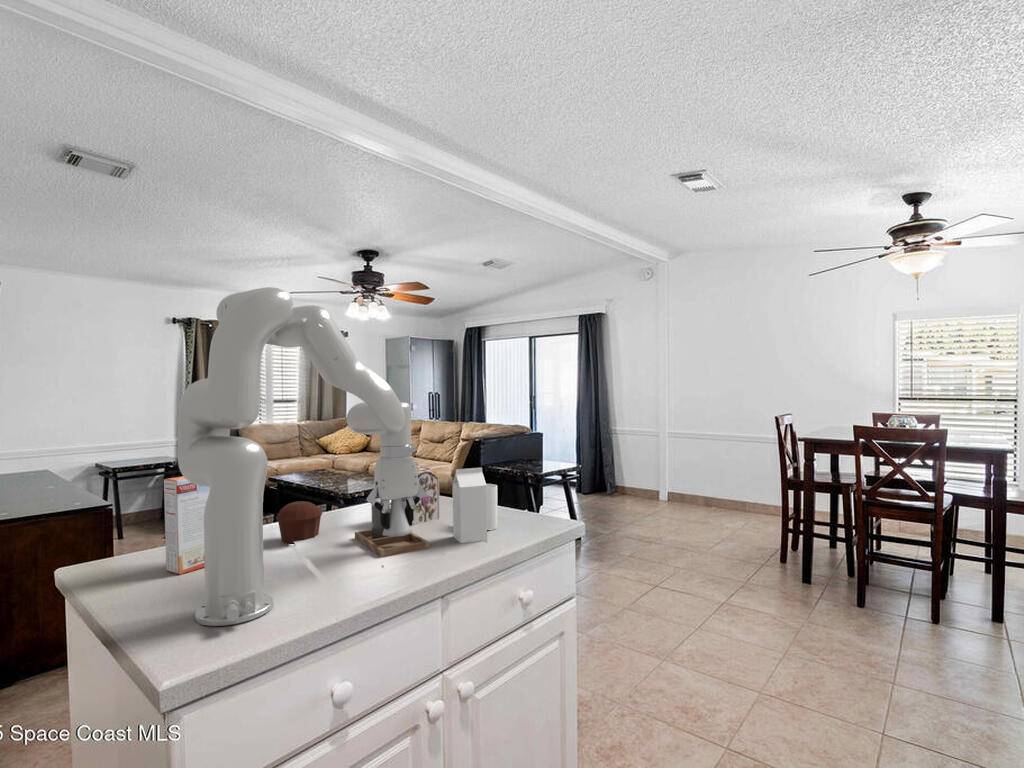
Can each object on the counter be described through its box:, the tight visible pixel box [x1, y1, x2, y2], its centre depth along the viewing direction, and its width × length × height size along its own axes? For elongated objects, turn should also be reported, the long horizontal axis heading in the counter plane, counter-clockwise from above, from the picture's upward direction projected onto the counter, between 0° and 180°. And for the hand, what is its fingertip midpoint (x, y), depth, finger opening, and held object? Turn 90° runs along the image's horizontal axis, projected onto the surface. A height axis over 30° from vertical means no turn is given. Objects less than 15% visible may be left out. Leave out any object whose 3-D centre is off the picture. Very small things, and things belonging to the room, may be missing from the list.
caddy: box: [354, 528, 430, 559], centre depth 137 cm, size 20×12×3 cm, turn 33°
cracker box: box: [163, 475, 210, 575], centre depth 126 cm, size 14×6×21 cm, turn 149°
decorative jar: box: [402, 461, 441, 527], centre depth 162 cm, size 12×12×18 cm
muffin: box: [275, 500, 323, 545], centre depth 145 cm, size 12×11×10 cm
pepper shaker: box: [371, 498, 391, 539], centre depth 141 cm, size 6×6×10 cm
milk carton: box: [452, 467, 488, 544], centre depth 140 cm, size 7×7×19 cm
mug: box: [486, 483, 498, 530], centre depth 155 cm, size 10×7×12 cm, turn 44°
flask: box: [382, 499, 413, 537], centre depth 133 cm, size 7×7×10 cm
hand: (397, 525), depth 133 cm, fingers closed on flask, 5 cm apart
